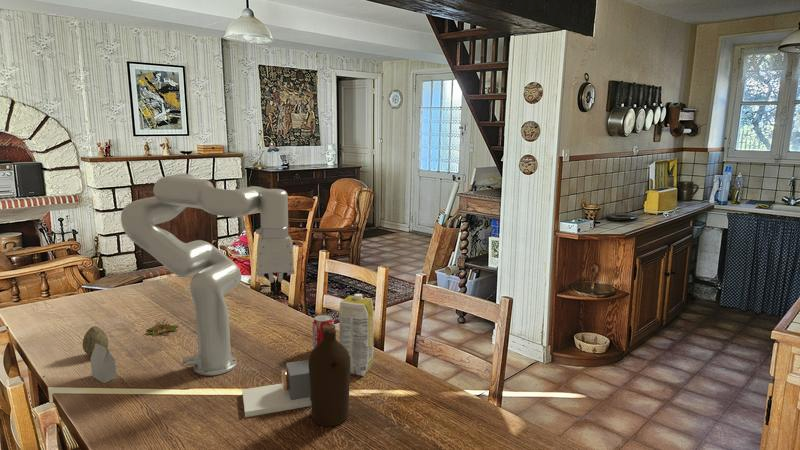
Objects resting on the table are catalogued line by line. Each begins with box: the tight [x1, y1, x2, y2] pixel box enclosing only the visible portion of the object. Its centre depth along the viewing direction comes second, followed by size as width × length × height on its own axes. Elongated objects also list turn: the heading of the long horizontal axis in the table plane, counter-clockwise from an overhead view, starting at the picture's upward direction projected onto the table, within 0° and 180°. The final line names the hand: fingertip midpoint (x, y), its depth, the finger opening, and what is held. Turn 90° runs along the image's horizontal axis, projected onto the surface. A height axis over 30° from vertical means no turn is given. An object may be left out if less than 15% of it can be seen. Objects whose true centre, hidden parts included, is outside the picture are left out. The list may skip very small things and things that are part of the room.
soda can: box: [312, 313, 335, 350], centre depth 171 cm, size 7×7×12 cm
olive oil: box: [308, 324, 351, 427], centre depth 132 cm, size 11×11×25 cm
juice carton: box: [338, 293, 374, 377], centre depth 158 cm, size 9×8×24 cm
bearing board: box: [242, 359, 312, 418], centre depth 143 cm, size 27×12×9 cm, turn 110°
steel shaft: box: [281, 369, 289, 391], centre depth 144 cm, size 14×6×6 cm, turn 110°
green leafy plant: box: [143, 319, 179, 337], centre depth 188 cm, size 12×12×5 cm
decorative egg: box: [82, 326, 109, 357], centre depth 167 cm, size 7×7×10 cm
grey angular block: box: [90, 343, 118, 384], centre depth 153 cm, size 4×7×10 cm, turn 55°
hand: (276, 293), depth 151 cm, fingers closed
